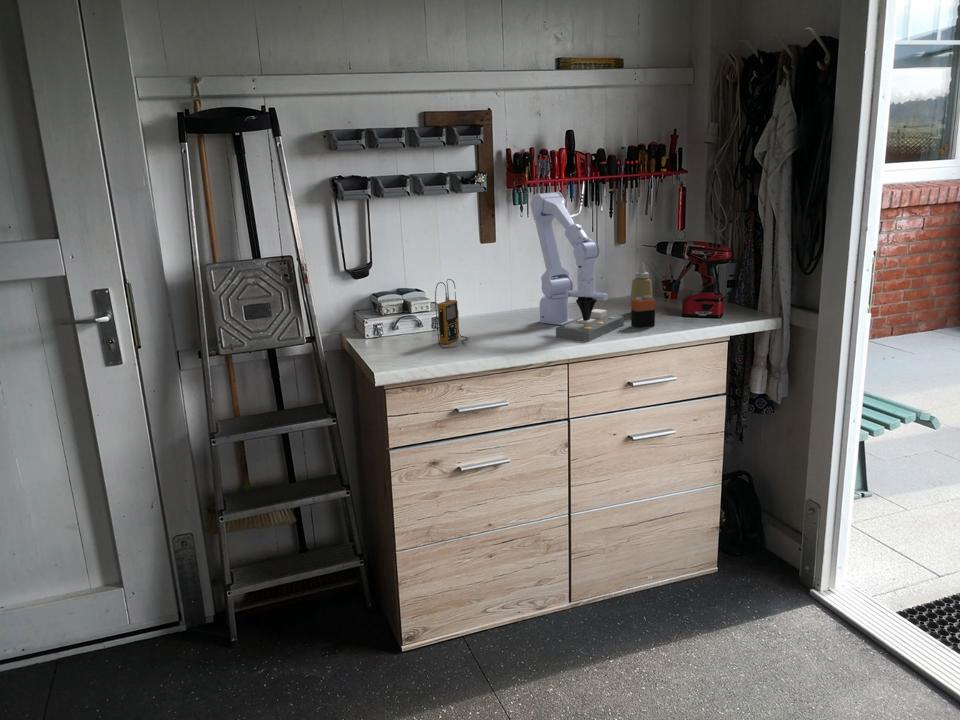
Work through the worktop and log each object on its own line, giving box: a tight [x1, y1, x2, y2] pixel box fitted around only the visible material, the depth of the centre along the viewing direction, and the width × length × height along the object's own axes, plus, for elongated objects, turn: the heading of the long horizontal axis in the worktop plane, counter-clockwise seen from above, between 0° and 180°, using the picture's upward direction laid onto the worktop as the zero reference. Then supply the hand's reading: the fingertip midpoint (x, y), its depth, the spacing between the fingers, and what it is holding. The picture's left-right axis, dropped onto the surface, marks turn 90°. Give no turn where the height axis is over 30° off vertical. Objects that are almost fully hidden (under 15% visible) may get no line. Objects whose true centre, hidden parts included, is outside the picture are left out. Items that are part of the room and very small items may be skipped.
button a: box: [565, 323, 584, 329], centre depth 250 cm, size 4×4×3 cm
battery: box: [630, 296, 656, 329], centre depth 259 cm, size 4×7×10 cm, turn 108°
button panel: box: [555, 314, 625, 342], centre depth 256 cm, size 12×24×3 cm, turn 144°
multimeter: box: [434, 278, 469, 349], centre depth 245 cm, size 15×10×20 cm
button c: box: [590, 308, 608, 319], centre depth 262 cm, size 4×4×3 cm
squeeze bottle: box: [629, 261, 654, 305], centre depth 276 cm, size 8×8×18 cm
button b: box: [577, 318, 596, 324], centre depth 256 cm, size 4×4×3 cm
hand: (586, 320), depth 256 cm, fingers closed, pressing on button b
